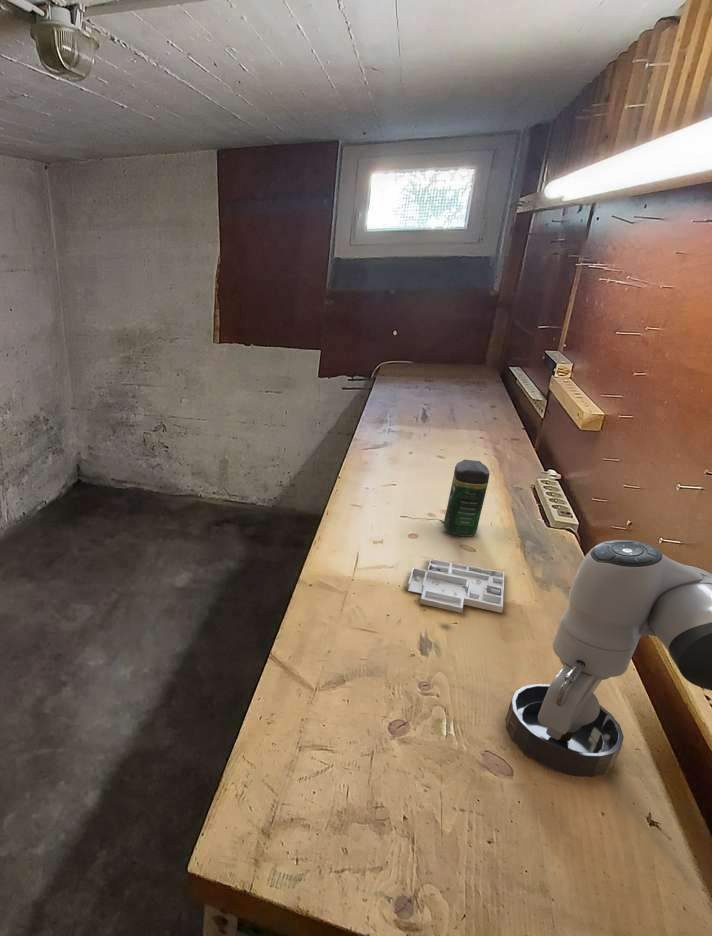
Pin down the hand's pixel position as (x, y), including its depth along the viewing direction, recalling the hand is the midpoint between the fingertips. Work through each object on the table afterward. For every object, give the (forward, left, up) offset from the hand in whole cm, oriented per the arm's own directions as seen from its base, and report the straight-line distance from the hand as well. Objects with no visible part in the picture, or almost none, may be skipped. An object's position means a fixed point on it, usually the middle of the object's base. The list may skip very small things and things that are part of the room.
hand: (565, 718), depth 85 cm
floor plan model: (-10, -38, -5) cm, 40 cm away
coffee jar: (-31, -64, -5) cm, 71 cm away
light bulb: (0, 0, -4) cm, 4 cm away
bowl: (0, 0, -5) cm, 5 cm away
